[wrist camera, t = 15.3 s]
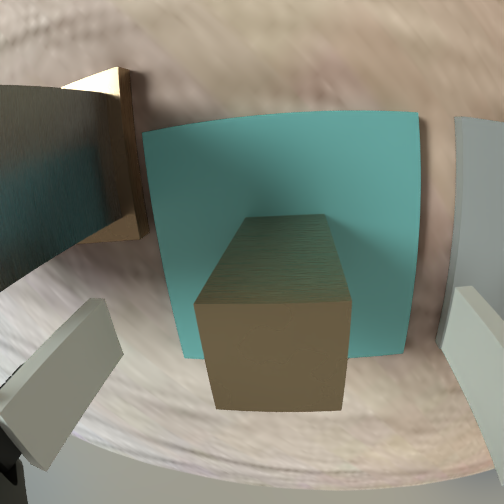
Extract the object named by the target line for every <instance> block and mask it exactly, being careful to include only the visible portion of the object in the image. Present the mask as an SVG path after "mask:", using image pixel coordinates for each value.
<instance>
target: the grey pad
mask: <svg viewBox="0 0 504 504" xmlns="http://www.w3.org/2000/svg"><path fill="white" fill-rule="evenodd" d="M454 118H455V136H456V196H455V215H454V228H453V239H452V248H451V257H450V265H449V272H448V279H447V285H446V291H445V297H444V302H443V308H442V313H441V318H440V323H439V327H438V332H437V336H436V340H435V342H436V343H437V345H438V347H439V349H441V348H442V344H443V340H444V337H445V333H446V328H447V324H448V320H449V316H450V311H451V306H452V301H453V296H454V291H455V287H463V286H473V287H474V288H475V289H476V290H477V292H478V293H479V294H480V295H481V296H482V297H483V298H484V299H485V300H486V301H487V302H488V304H489V305H490V306H491V307H492V308H493V309H494V310H495V312H496V313H497V314H498V315H499V316H500V317H501V319H502V320H503V321H504V122H498V121H492V120H485V119H478V118H470V117H462V116H461V117H454Z"/></svg>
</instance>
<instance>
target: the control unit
mask: <svg viewBox="0 0 504 504" xmlns="http://www.w3.org/2000/svg"><path fill="white" fill-rule="evenodd" d="M148 233H150V231H149V225H148V220H147V214H146V208H145V202H144V196H143V189H142V183H141V176H140V169H139V162H138V154H137V146H136V138H135V129H134V119H133V109H132V98H131V85H130V71H129V70H128V69H124V68H121V67H115V68H112V69H109V70H106V71H103V72H100V73H98V74H95V75H92V76H89V77H87V78H84V79H81V80H79V81H76V82H74V83H71V84H69V85H66V86H64V87H62V88H54V87H40V86H20V85H0V292H1V291H3V290H4V289H6V288H7V287H9V286H10V285H12V284H13V283H15V282H16V281H18V280H19V279H21V278H22V277H24V276H25V275H27V274H28V273H30V272H31V271H33V270H34V269H36V268H38V267H39V266H41V265H42V264H44V263H45V262H47V261H49V260H50V259H52V258H53V257H55V256H57V255H58V254H60V253H62V252H63V251H65V250H67V249H68V248H70V247H72V246H73V245H75V244H85V243H98V242H112V241H126V240H140V239H141V238H143V237H144V236H146V235H147V234H148Z"/></svg>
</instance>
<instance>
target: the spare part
mask: <svg viewBox="0 0 504 504" xmlns="http://www.w3.org/2000/svg"><path fill="white" fill-rule="evenodd" d="M193 305H194V310H195V315H196V321H197V326H198V330H199V335H200V340H201V345H202V350H203V354H204V359H205V363H206V368H207V372H208V377H209V381H210V385H211V390H212V394H213V398H214V402H215V406H216V409H222V410H238V411H262V412H315V411H338V410H341V409H342V402H343V395H344V387H345V378H346V369H347V360H348V349H349V338H350V326H351V312H352V299H351V295H350V292H349V289H348V285H347V282H346V278H345V275H344V272H343V269H342V265H341V262H340V259H339V256H338V253H337V250H336V246H335V243H334V240H333V237H332V234H331V231H330V228H329V225H328V222H327V219H326V216H325V214H308V215H284V216H263V217H245V219H244V221H243V222H242V224H241V226H240V227H239V229H238V230H237V232H236V234H235V235H234V237H233V239H232V240H231V242H230V244H229V245H228V247H227V249H226V250H225V252H224V254H223V255H222V257H221V258H220V260H219V262H218V263H217V265H216V267H215V268H214V270H213V272H212V273H211V275H210V277H209V278H208V280H207V282H206V284H205V285H204V287H203V289H202V290H201V292H200V294H199V295H198V297H197V299H196V300H195V302H194V304H193Z"/></svg>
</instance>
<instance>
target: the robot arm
mask: <svg viewBox="0 0 504 504" xmlns="http://www.w3.org/2000/svg"><path fill="white" fill-rule="evenodd" d="M441 350H442V351H443V353H444V355H445V357H446V359H447V361H448V363H449V365H450V367H451V369H452V371H453V373H454V374H455V376H456V378H457V380H458V383H459V385H460V387H461V389H462V391H463V393H464V395H465V397H466V399H467V401H468V403H469V406H470V408H471V410H472V412H473V414H474V417H475V419H476V421H477V423H478V426H479V428H480V430H481V433H482V435H483V438H484V440H485V442H486V445H487V447H488V450H489V453H490V455H491V458H492V460H493V463H494V466H495V468H496V471H497V474H498V476H499V479H500V482H501V485H502V486H504V321H503V320H502V319H501V317H500V316H499V315H498V314H497V313H496V312H495V310H494V309H493V308H492V307H491V306H490V305H489V304H488V302H487V301H486V300H485V299H484V298H483V297H482V296H481V295H480V294H479V293H478V292H477V290H476V289H475V288H474V287H473V286H463V287H455V291H454V296H453V301H452V306H451V311H450V316H449V320H448V324H447V328H446V333H445V337H444V340H443V344H442V348H441ZM123 355H124V354H123V351H122V348H121V346H120V343H119V340H118V337H117V335H116V332H115V329H114V326H113V323H112V320H111V317H110V314H109V311H108V308H107V305H106V302H105V299H95V298H90V299H89V300H88V301H87V302H86V303H84V304H83V305H82V306H81V307H80V308H79V309H78V310H77V311H76V312H75V313H74V314H73V315H72V316H71V317H70V318H69V319H68V320H67V321H66V322H65V323H64V324H63V325H62V326H61V327H60V328H59V329H58V330H57V331H56V332H55V333H54V334H53V335H52V336H51V337H50V338H49V339H48V340H47V341H46V342H45V343H44V344H43V345H42V346H41V347H40V348H39V349H38V350H37V351H36V352H35V353H34V354H33V355H32V356H31V357H30V358H29V359H28V360H27V361H26V362H25V363H23V364H22V365H20V366H19V368H18V369H17V370H16V371H15V372H14V373H13V374H12V376H10V377H9V378H8V379H7V380H6V383H4V384H3V385H2V386H1V387H0V504H28V501H27V495H26V488H25V479H24V470H23V465H22V462H21V461H20V460H19V457H20V455H21V454H23V456H24V457H25V458H26V459H27V460H28V461H29V462H30V464H32V465H33V466H36V467H37V468H40V469H42V470H44V471H47V470H48V469H49V467H50V466H51V464H52V462H53V460H54V459H55V458H56V456H57V454H58V453H59V451H60V450H61V448H62V446H63V445H64V443H65V442H66V440H67V438H68V437H69V435H70V434H71V432H72V431H73V429H74V428H75V426H76V424H77V423H78V421H79V420H80V418H81V417H82V415H83V414H84V412H85V411H86V409H87V408H88V406H89V405H90V403H91V402H92V400H93V399H94V397H95V396H96V394H97V393H98V391H99V390H100V388H101V387H102V385H103V384H104V382H105V381H106V379H107V378H108V376H109V375H110V374H111V372H112V371H113V369H114V368H115V366H116V365H117V363H118V362H119V360H120V359H121V358H122V356H123Z"/></svg>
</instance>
